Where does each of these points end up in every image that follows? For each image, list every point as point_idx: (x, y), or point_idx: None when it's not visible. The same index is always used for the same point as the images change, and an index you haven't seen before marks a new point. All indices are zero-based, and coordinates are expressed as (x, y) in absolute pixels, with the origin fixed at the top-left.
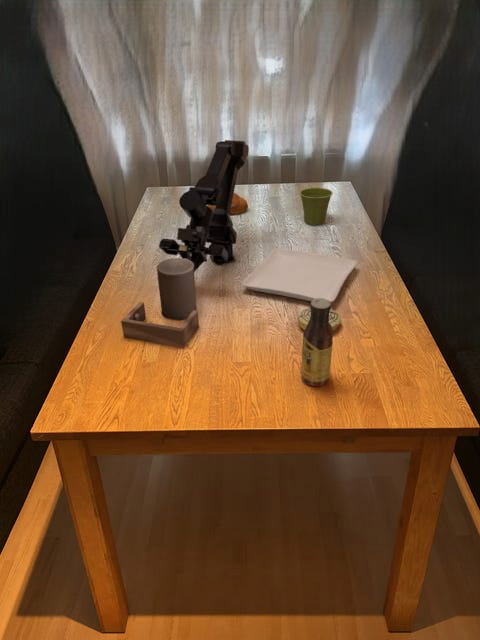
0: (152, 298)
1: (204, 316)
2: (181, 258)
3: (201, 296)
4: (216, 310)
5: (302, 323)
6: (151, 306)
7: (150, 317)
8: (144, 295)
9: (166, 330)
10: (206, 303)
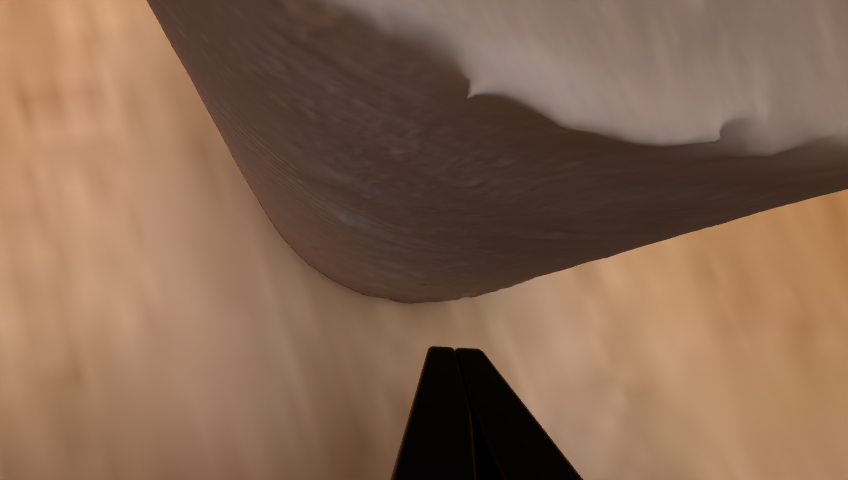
0: (730, 309)
1: (142, 85)
2: (838, 83)
3: (288, 465)
4: (39, 213)
5: None
6: None
7: None
8: (816, 346)
9: None
10: (189, 330)
